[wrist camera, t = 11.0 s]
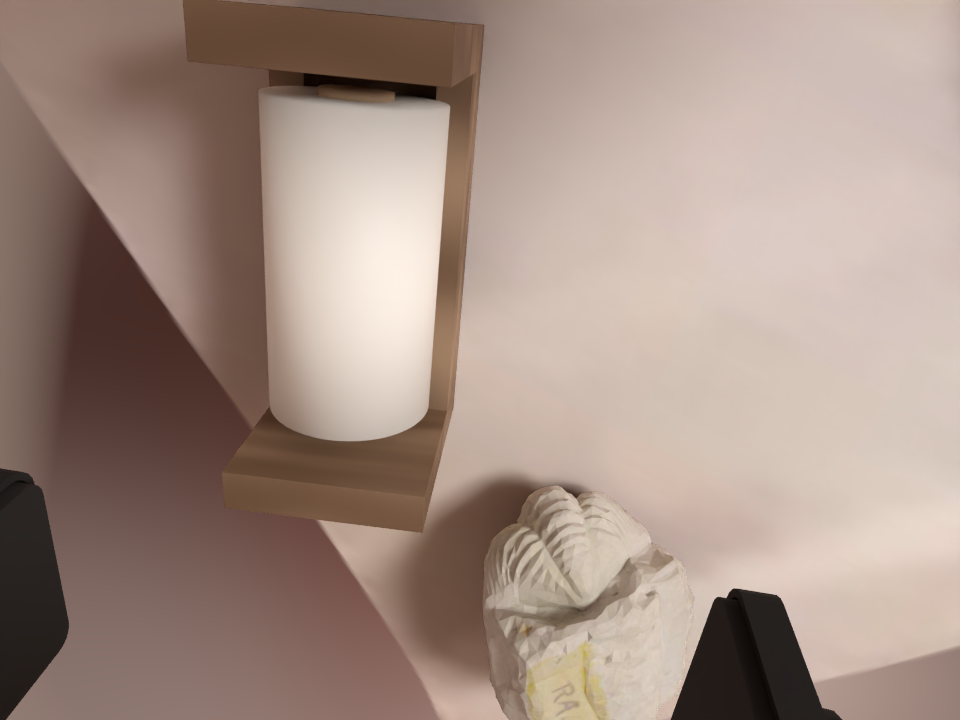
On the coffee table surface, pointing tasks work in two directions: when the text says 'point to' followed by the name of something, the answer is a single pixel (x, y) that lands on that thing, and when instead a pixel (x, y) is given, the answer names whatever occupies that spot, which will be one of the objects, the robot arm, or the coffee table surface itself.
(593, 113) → the coffee table surface
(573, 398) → the coffee table surface
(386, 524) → the holder
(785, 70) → the coffee table surface
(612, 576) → the fossil replica
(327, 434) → the roll
